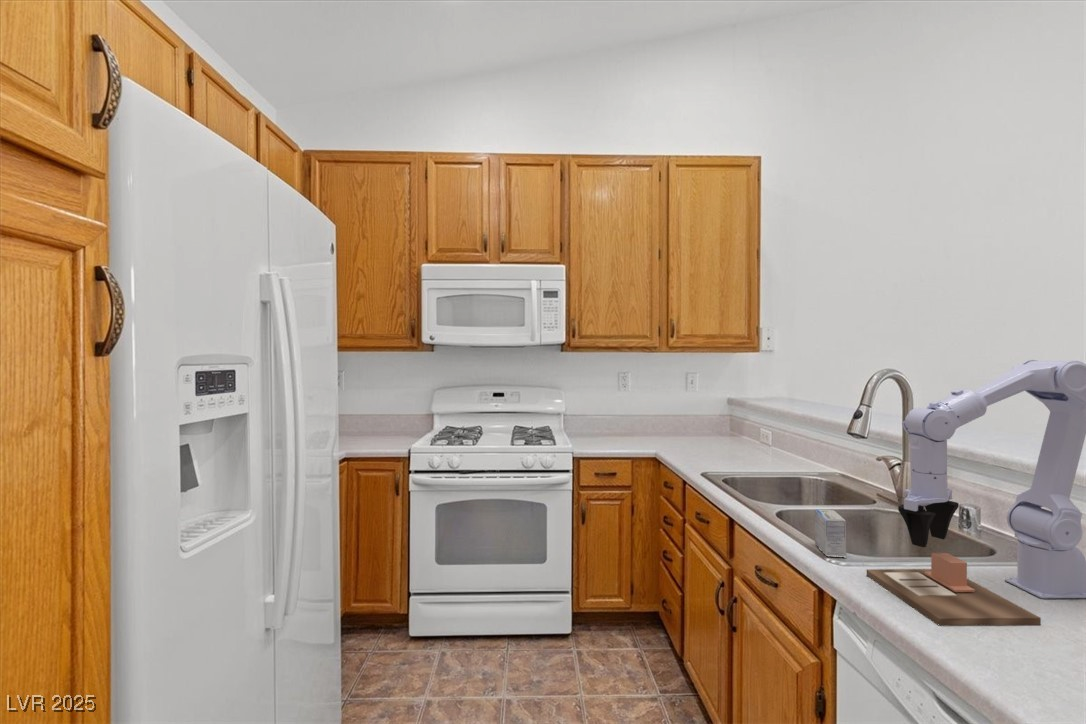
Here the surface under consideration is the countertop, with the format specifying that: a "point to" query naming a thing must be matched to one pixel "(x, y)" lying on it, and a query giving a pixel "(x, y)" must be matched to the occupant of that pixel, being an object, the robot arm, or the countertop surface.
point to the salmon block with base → (949, 572)
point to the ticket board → (951, 600)
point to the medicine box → (830, 532)
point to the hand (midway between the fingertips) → (928, 541)
